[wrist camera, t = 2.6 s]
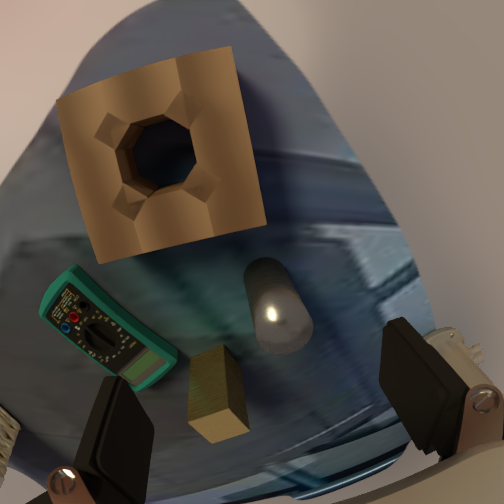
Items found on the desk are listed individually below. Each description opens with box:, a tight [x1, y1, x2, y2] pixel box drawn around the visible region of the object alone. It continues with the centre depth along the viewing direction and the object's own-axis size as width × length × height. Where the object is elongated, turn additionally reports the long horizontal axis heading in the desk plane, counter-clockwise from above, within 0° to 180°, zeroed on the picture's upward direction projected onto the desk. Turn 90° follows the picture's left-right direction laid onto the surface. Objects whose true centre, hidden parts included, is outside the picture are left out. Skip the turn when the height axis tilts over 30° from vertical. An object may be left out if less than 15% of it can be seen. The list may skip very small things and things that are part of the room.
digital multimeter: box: [39, 264, 178, 392], centre depth 28 cm, size 7×15×3 cm, turn 43°
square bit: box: [188, 344, 250, 443], centre depth 28 cm, size 4×4×9 cm
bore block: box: [56, 46, 267, 264], centre depth 22 cm, size 13×13×5 cm
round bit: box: [244, 257, 313, 355], centre depth 25 cm, size 4×4×9 cm
